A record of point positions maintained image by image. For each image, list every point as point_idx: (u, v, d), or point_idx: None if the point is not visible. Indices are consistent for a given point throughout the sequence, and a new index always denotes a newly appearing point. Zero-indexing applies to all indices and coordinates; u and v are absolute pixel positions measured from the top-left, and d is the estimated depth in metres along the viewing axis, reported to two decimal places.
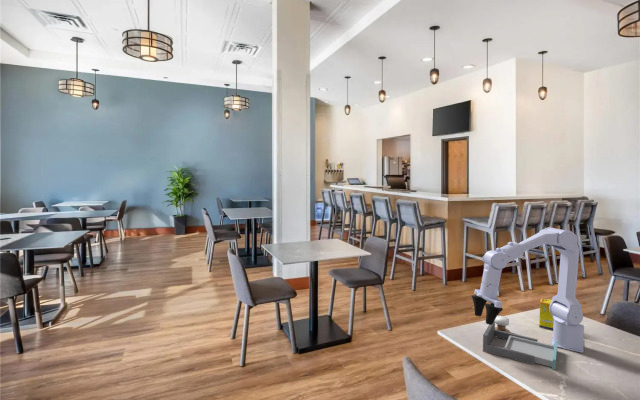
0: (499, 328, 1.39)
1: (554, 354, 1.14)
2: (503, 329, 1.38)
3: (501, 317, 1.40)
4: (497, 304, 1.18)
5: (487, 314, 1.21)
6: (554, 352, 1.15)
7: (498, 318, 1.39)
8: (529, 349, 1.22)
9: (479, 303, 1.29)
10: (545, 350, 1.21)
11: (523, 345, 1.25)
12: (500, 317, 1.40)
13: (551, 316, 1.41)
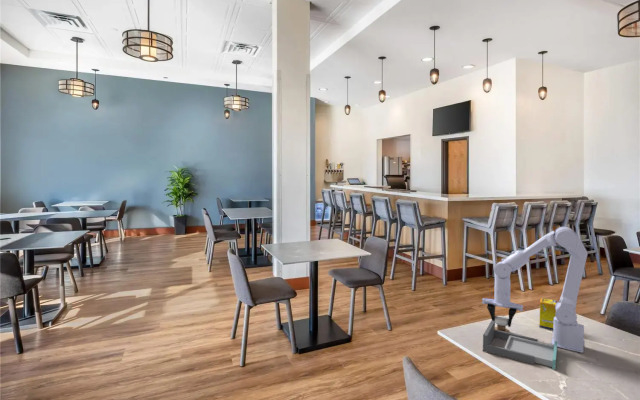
0: (499, 328, 1.39)
1: (554, 354, 1.14)
2: (503, 329, 1.38)
3: (501, 317, 1.40)
4: (522, 308, 1.34)
5: (510, 319, 1.36)
6: (554, 352, 1.15)
7: (498, 318, 1.39)
8: (529, 349, 1.22)
9: (494, 311, 1.40)
10: (545, 350, 1.21)
11: (523, 345, 1.25)
12: (500, 317, 1.40)
13: (551, 316, 1.41)
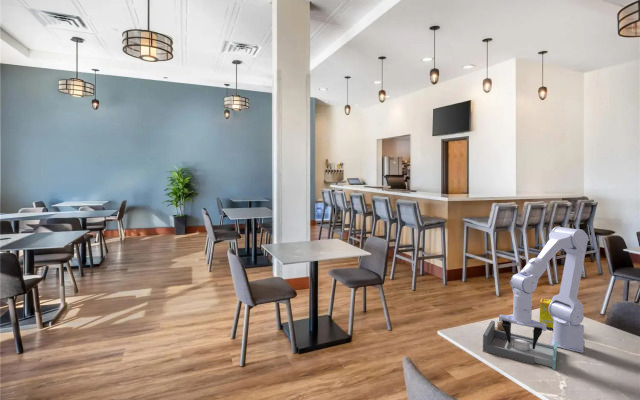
0: (499, 328, 1.39)
1: (554, 354, 1.14)
2: (503, 329, 1.38)
3: (520, 341, 1.24)
4: None
5: (535, 340, 1.19)
6: (554, 352, 1.15)
7: (517, 342, 1.23)
8: None
9: (509, 329, 1.25)
10: (545, 350, 1.21)
11: None
12: (519, 341, 1.24)
13: (551, 316, 1.41)
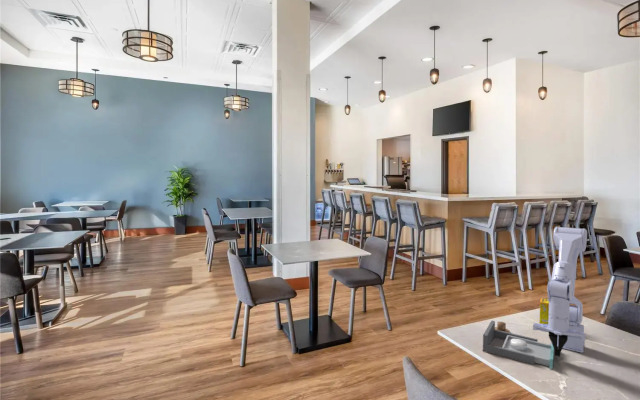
0: (499, 328, 1.39)
1: (551, 353, 1.15)
2: (503, 329, 1.38)
3: (518, 340, 1.24)
4: None
5: (560, 347, 1.15)
6: (551, 351, 1.16)
7: (515, 342, 1.23)
8: (527, 348, 1.22)
9: None
10: (542, 349, 1.22)
11: None
12: (517, 340, 1.24)
13: None
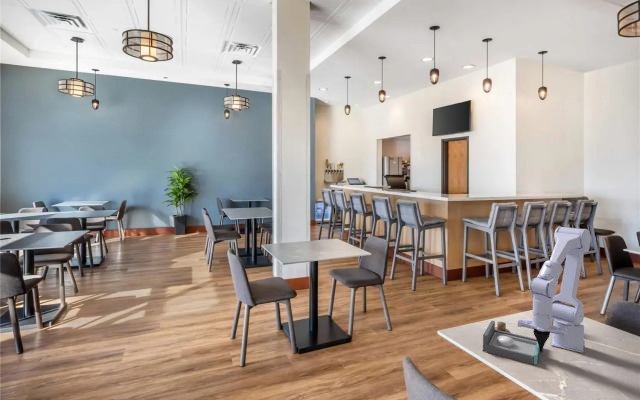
0: (499, 328, 1.39)
1: (536, 350, 1.17)
2: (503, 329, 1.38)
3: (505, 337, 1.27)
4: (567, 333, 1.14)
5: (543, 343, 1.18)
6: (536, 348, 1.18)
7: (502, 339, 1.26)
8: (513, 345, 1.25)
9: None
10: (528, 346, 1.24)
11: None
12: (504, 337, 1.27)
13: None
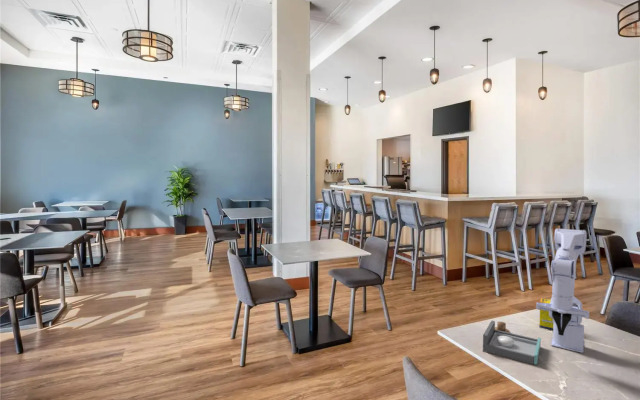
0: (499, 328, 1.39)
1: (536, 350, 1.17)
2: (503, 329, 1.38)
3: (505, 337, 1.27)
4: None
5: (564, 326, 1.14)
6: (536, 348, 1.18)
7: (502, 339, 1.26)
8: None
9: (560, 320, 1.16)
10: (529, 346, 1.24)
11: None
12: (504, 337, 1.27)
13: None
